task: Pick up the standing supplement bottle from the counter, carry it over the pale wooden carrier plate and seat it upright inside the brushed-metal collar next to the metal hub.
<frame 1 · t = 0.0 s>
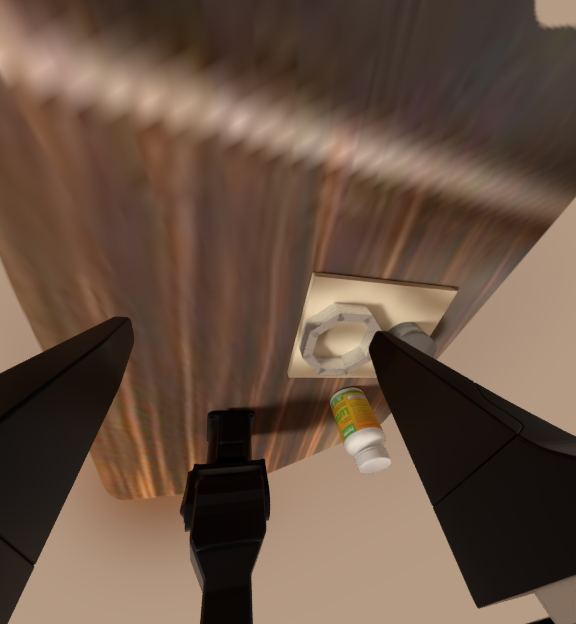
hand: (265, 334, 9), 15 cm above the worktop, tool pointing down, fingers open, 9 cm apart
socket collar: (334, 330, 29), resting on carrier plate
supplement bottle: (345, 396, 37), on the worktop
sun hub: (396, 333, 31), resting on carrier plate
carrier plate: (364, 331, 30), on the worktop
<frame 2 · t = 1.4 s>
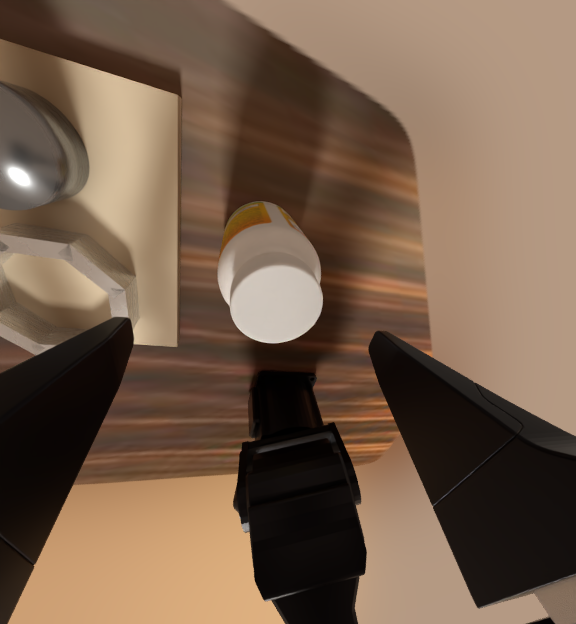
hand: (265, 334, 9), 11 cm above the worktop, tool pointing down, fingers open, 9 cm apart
socket collar: (76, 284, 18), resting on carrier plate
supplement bottle: (260, 238, 18), on the worktop
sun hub: (45, 147, 14), resting on carrier plate
carrier plate: (63, 229, 16), on the worktop
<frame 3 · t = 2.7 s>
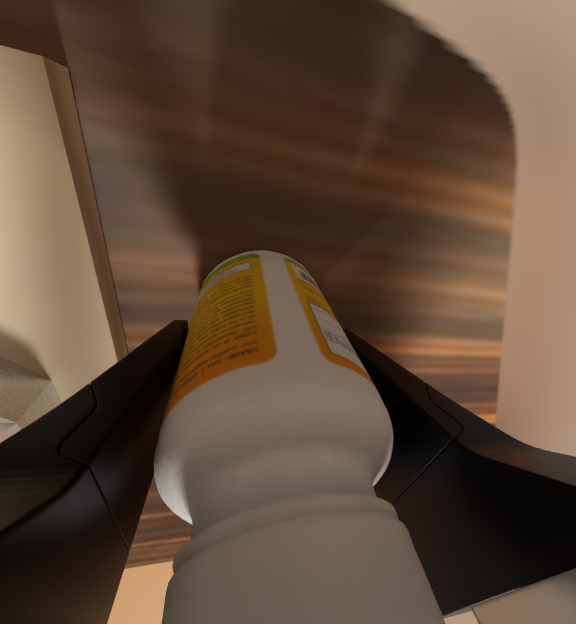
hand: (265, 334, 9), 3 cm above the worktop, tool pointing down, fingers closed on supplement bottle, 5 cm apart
supplement bottle: (260, 302, 11), on the worktop, touching gripper
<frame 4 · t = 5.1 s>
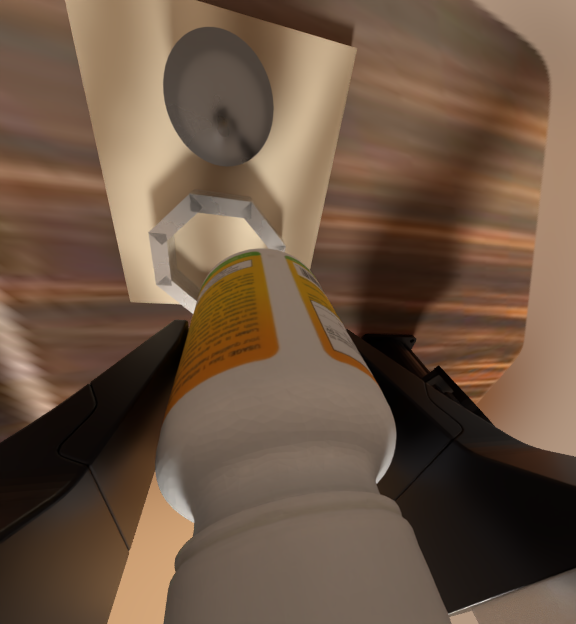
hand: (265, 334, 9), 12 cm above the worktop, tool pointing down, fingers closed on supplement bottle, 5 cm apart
socket collar: (223, 250, 19), resting on carrier plate
supplement bottle: (260, 300, 11), point 9 cm above the worktop, touching gripper
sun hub: (225, 115, 15), resting on carrier plate
carrier plate: (224, 195, 17), on the worktop
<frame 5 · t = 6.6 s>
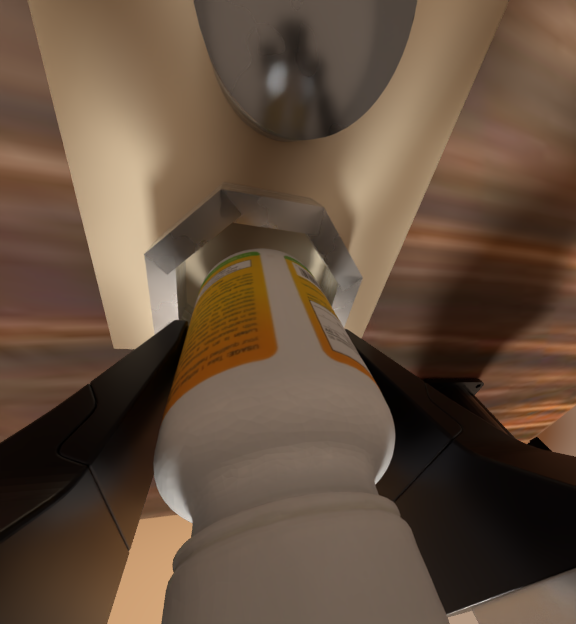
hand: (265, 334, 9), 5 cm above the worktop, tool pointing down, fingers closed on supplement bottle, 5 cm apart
socket collar: (255, 275, 13), resting on carrier plate
supplement bottle: (260, 300, 11), point 2 cm above the worktop, touching gripper
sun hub: (283, 55, 9), resting on carrier plate
carrier plate: (265, 194, 11), on the worktop
when the fingers open (4 cm above the worktop, at t = 7.5 s): supplement bottle stays where it is, resting on carrier plate.
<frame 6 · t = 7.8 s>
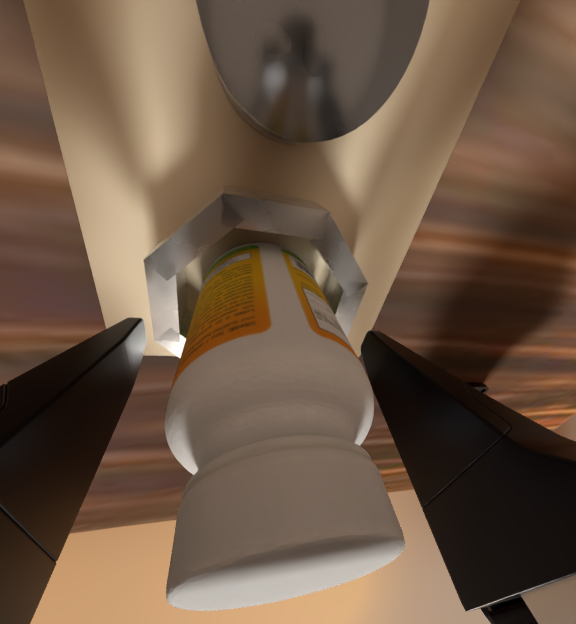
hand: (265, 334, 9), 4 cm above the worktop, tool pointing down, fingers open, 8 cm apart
socket collar: (257, 280, 13), resting on carrier plate
supplement bottle: (259, 291, 12), point 1 cm above the worktop, touching carrier plate
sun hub: (287, 55, 8), resting on carrier plate
carrier plate: (268, 197, 11), on the worktop
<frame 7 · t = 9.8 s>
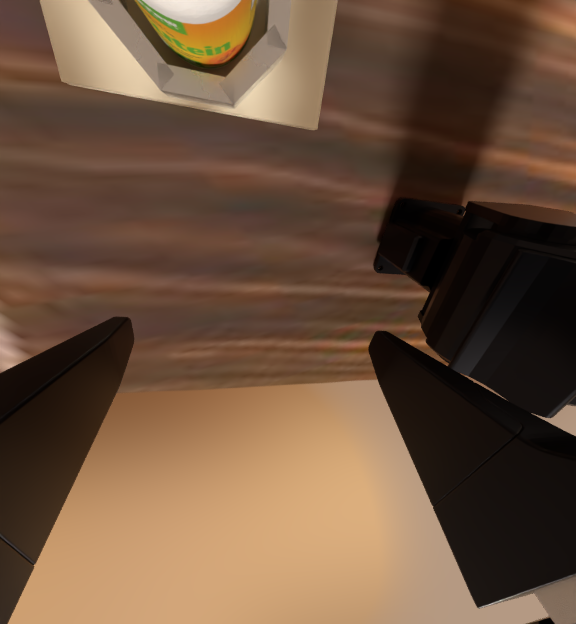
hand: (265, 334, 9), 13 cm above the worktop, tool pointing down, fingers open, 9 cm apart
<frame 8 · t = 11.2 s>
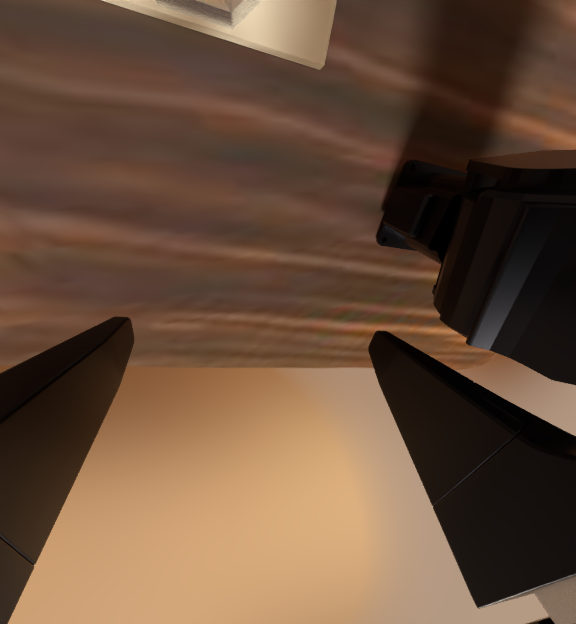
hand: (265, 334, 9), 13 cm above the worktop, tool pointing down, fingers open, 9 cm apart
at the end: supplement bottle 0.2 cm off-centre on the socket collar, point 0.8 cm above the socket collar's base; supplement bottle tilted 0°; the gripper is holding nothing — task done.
